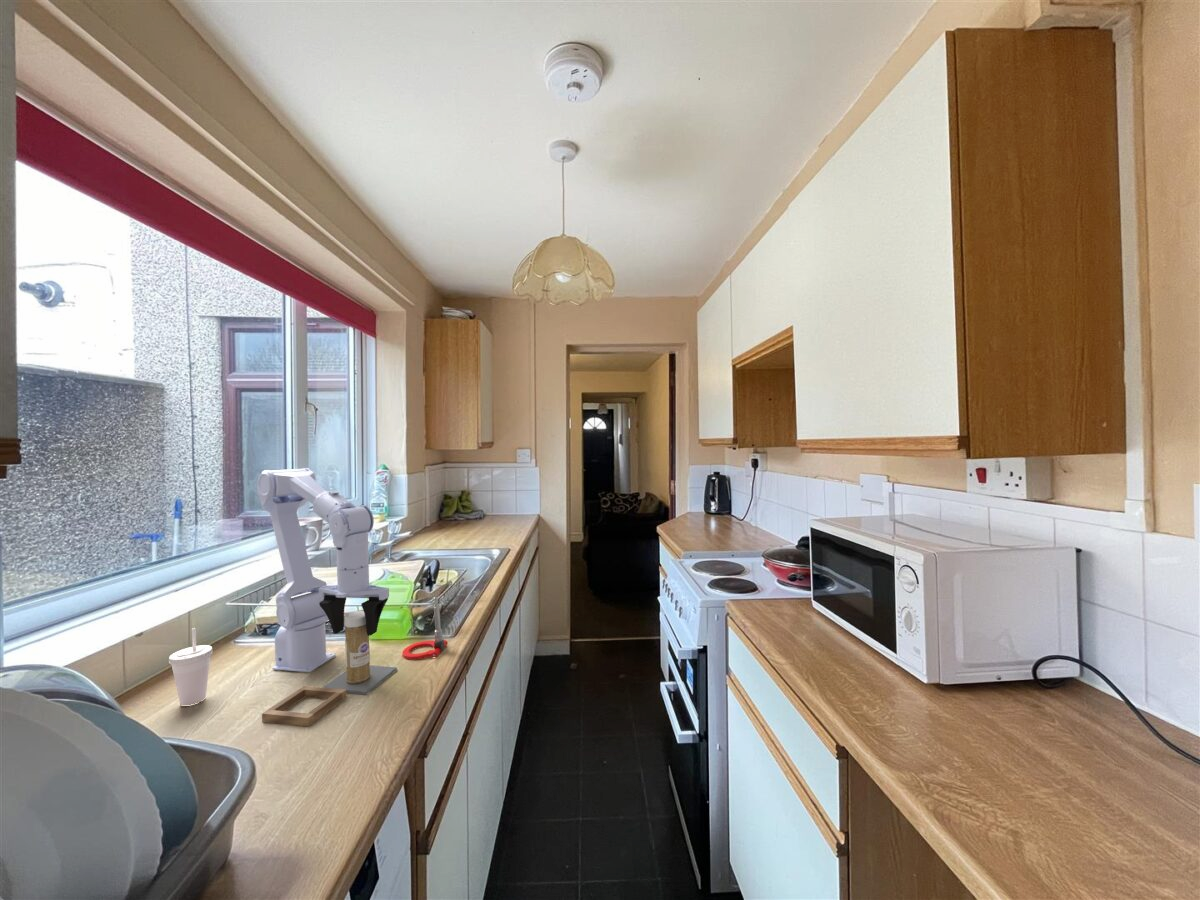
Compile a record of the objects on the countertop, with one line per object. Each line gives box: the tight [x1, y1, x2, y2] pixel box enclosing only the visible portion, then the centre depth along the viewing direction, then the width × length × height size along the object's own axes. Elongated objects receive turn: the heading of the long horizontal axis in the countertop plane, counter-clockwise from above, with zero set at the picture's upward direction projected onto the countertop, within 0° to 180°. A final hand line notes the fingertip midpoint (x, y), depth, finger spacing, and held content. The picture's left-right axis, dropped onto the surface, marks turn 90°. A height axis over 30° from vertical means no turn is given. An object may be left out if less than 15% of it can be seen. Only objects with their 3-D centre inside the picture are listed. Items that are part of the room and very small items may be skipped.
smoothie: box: [168, 627, 213, 705], centre depth 91 cm, size 6×6×14 cm
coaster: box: [322, 664, 398, 696], centre depth 98 cm, size 10×10×1 cm
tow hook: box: [401, 596, 448, 660], centre depth 111 cm, size 8×13×9 cm
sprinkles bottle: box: [344, 610, 371, 684], centre depth 97 cm, size 5×5×14 cm
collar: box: [261, 685, 348, 727], centre depth 88 cm, size 9×9×2 cm
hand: (355, 632), depth 96 cm, fingers open, 7 cm apart
